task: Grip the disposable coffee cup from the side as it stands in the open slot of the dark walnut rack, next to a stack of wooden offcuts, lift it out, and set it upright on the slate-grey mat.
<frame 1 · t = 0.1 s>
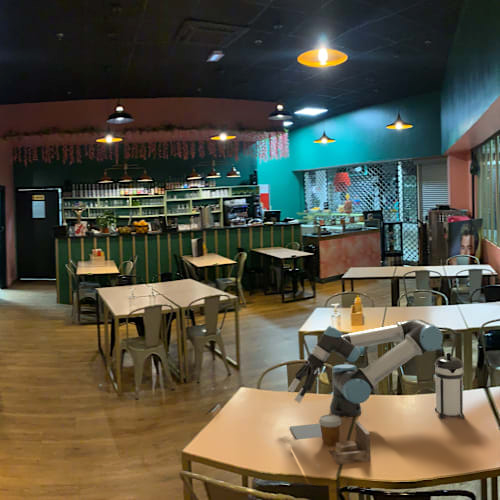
hand: (293, 396, 253), 15 cm above the table, tool tilted 35°, fingers open, 13 cm apart
offcut stack: (347, 455, 222), point 1 cm above the table, touching offcut rack
slate mat: (308, 432, 249), on the table
offcut rack: (345, 456, 224), on the table
coffee press: (448, 413, 264), on the table
disposable coffee cup: (330, 446, 235), on the table
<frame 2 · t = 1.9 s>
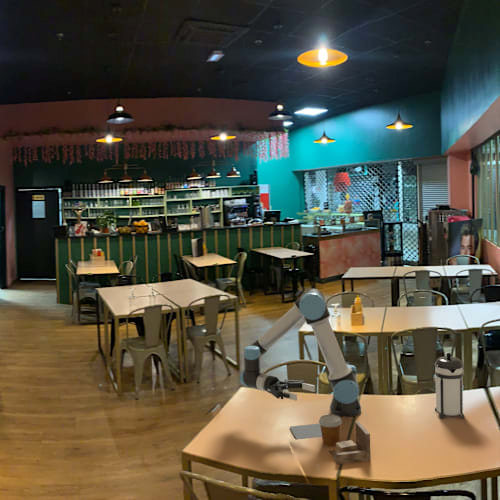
hand: (305, 393, 242), 20 cm above the table, tool horizontal, fingers open, 13 cm apart
nothing on the table moved.
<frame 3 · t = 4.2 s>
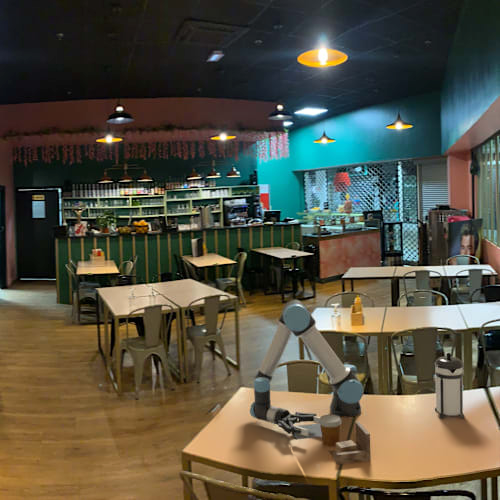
hand: (317, 427, 238), 7 cm above the table, tool horizontal, fingers open, 13 cm apart
nothing on the table moved.
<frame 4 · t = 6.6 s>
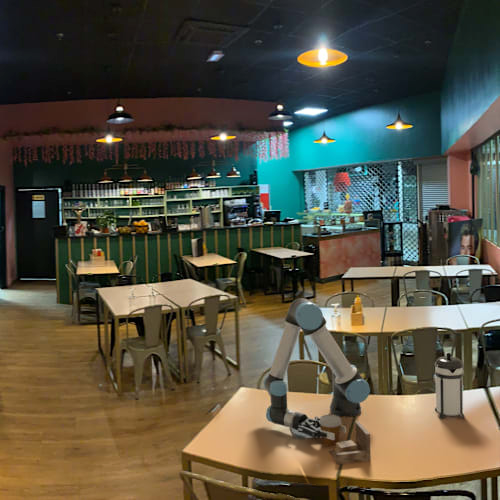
hand: (340, 433, 231), 7 cm above the table, tool horizontal, fingers closed on disposable coffee cup, 8 cm apart
disposable coffee cup: (330, 446, 235), on the table, touching gripper
everything else where it was.
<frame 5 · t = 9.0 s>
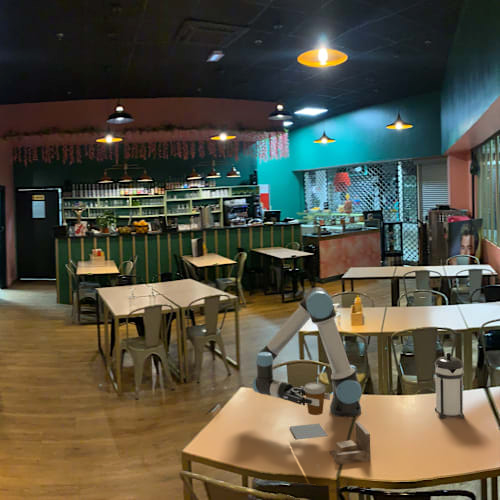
hand: (324, 399, 239), 18 cm above the table, tool horizontal, fingers closed on disposable coffee cup, 8 cm apart
disposable coffee cup: (315, 412, 242), point 11 cm above the table, touching gripper
everything else where it was.
when the fingers open (9 cm above the table, at t = 11.6 s): disposable coffee cup drops 1 cm, resting on slate mat.
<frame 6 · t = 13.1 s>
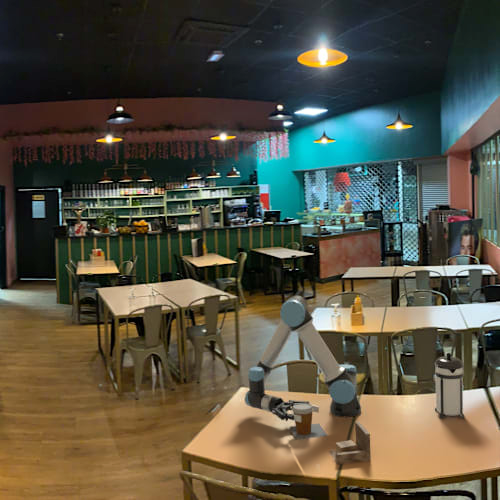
hand: (309, 414, 247), 9 cm above the table, tool horizontal, fingers open, 13 cm apart
disposable coffee cup: (303, 432, 247), point 1 cm above the table, touching slate mat
everything else where it was.
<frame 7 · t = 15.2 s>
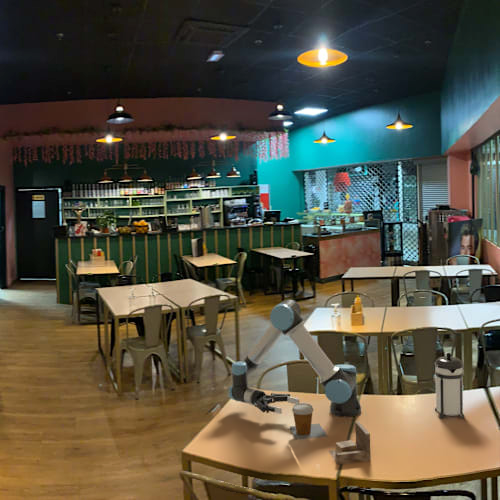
hand: (290, 406, 254), 10 cm above the table, tool horizontal, fingers open, 13 cm apart
nothing on the table moved.
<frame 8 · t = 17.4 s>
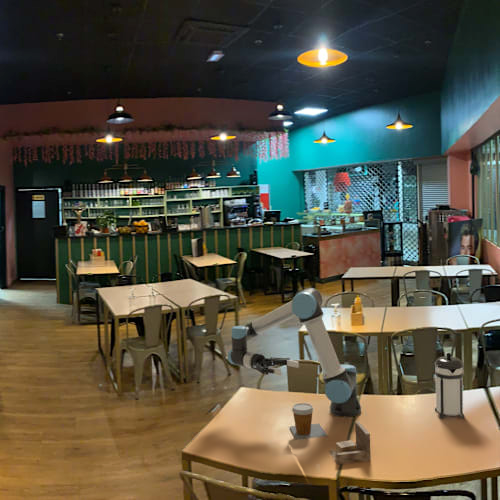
hand: (289, 368, 253), 28 cm above the table, tool horizontal, fingers open, 13 cm apart
nothing on the table moved.
at the end: disposable coffee cup inside the target area on the slate mat (2.7 cm from its centre), point 0.6 cm above the slate mat's base; disposable coffee cup tilted 0°; offcut stack moved 0.0 cm from its start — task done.
